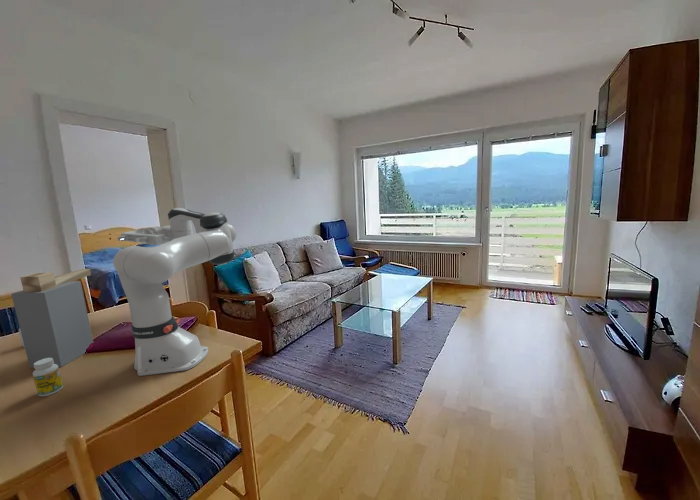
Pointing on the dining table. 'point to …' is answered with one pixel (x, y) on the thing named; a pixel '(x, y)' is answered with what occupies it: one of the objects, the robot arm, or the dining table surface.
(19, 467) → the dining table surface
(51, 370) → the supplement bottle
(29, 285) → the mallet
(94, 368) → the dining table surface
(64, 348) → the pedestal
